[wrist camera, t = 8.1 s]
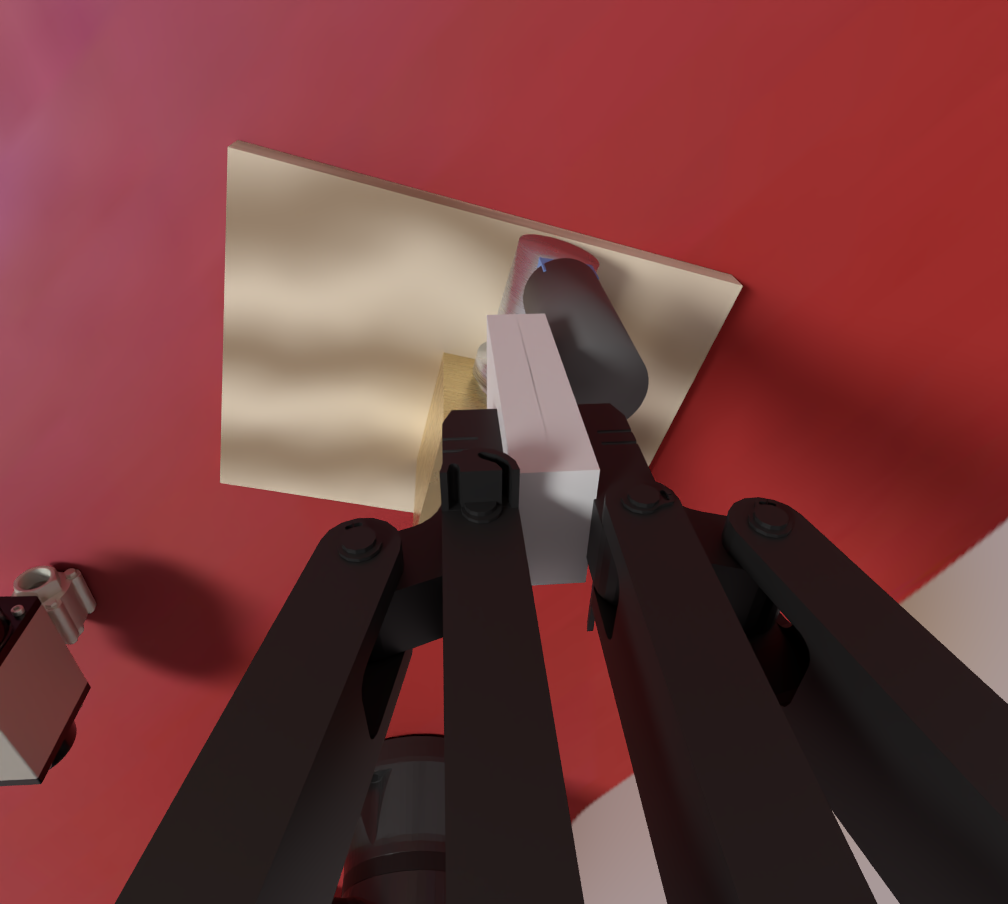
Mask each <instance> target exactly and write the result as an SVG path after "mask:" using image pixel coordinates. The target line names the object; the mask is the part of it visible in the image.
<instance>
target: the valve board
mask: <svg viewBox="0 0 1008 904" xmlns="http://www.w3.org/2000/svg"><path fill="white" fill-rule="evenodd" d="M527 234H536V235H543V236H548V237H552V238H556V239H559V240H562V241H565V242H568V243H570V244H573V245H575V246H577V247H580V248H582V249H583V250H585V251H587V252H589V253H590V254H591V255H593V256H594V257H595V258H596V259H597V260H598V261H599V267H598V270H597V275H598V277H599V281H600V283H601V285H602V287H603V289H604V291H605V292H606V294H607V296H608V298H609V300H610V302H611V303H612V305H613V307H614V309H615V311H616V313H617V314H618V316H619V318H620V320H621V322H622V324H623V325H624V327H625V329H626V331H627V333H628V335H629V336H630V338H631V340H632V342H633V344H634V346H635V347H636V349H637V351H638V353H639V355H640V357H641V359H642V360H643V362H644V364H645V366H646V369H647V372H648V377H649V384H648V390H647V394H646V396H645V399H644V401H643V402H642V404H641V406H640V407H639V408H638V410H637V411H636V412H635V413H634V414H633V415H632V416H631V417H629V418H628V419H627V421H628V423H629V425H630V428H631V432H633V434H634V436H635V439H636V441H637V444H638V445H639V447H640V449H641V452H642V454H643V456H644V458H645V460H646V462H647V465H648V467H649V465H650V463H651V461H652V459H653V457H654V455H655V454H656V452H657V450H658V448H659V446H660V444H661V442H662V440H663V438H664V436H665V434H666V432H667V430H668V429H669V427H670V425H671V423H672V421H673V419H674V417H675V415H676V413H677V411H678V409H679V407H680V406H681V404H682V402H683V400H684V398H685V396H686V394H687V392H688V390H689V388H690V386H691V384H692V383H693V381H694V379H695V377H696V375H697V373H698V371H699V369H700V367H701V365H702V363H703V361H704V360H705V358H706V356H707V354H708V352H709V350H710V348H711V346H712V344H713V342H714V340H715V338H716V337H717V335H718V333H719V331H720V329H721V327H722V325H723V323H724V321H725V319H726V317H727V315H728V313H729V312H730V310H731V308H732V306H733V304H734V302H735V300H736V298H737V296H738V294H739V292H740V290H741V289H742V287H743V285H741V284H740V283H739V282H738V281H737V280H736V279H735V278H734V277H733V276H732V275H730V274H727V273H723V272H719V271H716V270H712V269H708V268H705V267H701V266H697V265H694V264H690V263H686V262H683V261H679V260H675V259H672V258H668V257H664V256H661V255H657V254H653V253H650V252H646V251H642V250H639V249H635V248H631V247H628V246H624V245H620V244H617V243H613V242H609V241H606V240H602V239H598V238H595V237H591V236H587V235H584V234H580V233H576V232H573V231H569V230H565V229H562V228H558V227H554V226H551V225H547V224H543V223H540V222H536V221H532V220H529V219H525V218H521V217H518V216H514V215H510V214H507V213H503V212H500V211H496V210H492V209H489V208H485V207H481V206H478V205H474V204H470V203H467V202H463V201H459V200H456V199H452V198H448V197H445V196H441V195H437V194H434V193H430V192H426V191H423V190H419V189H415V188H412V187H408V186H404V185H401V184H397V183H393V182H390V181H386V180H382V179H379V178H375V177H371V176H368V175H364V174H360V173H357V172H353V171H349V170H346V169H342V168H338V167H335V166H331V165H327V164H324V163H320V162H316V161H313V160H309V159H305V158H302V157H298V156H294V155H291V154H287V153H283V152H280V151H276V150H272V149H269V148H265V147H261V146H258V145H254V144H250V143H247V142H243V141H239V140H237V141H236V142H234V143H233V144H231V145H230V146H229V147H228V162H227V205H226V249H225V292H224V335H223V378H222V421H221V465H220V483H225V484H232V485H238V486H245V487H251V488H258V489H264V490H271V491H277V492H283V493H290V494H296V495H303V496H309V497H316V498H322V499H329V500H335V501H342V502H348V503H355V504H361V505H368V506H374V507H380V508H387V509H393V510H400V511H406V512H413V513H414V498H415V481H416V464H417V457H418V453H419V449H420V445H421V441H422V437H423V433H424V429H425V425H426V421H427V417H428V413H429V409H430V405H431V401H432V397H433V393H434V389H435V385H436V380H437V376H438V372H439V368H440V364H441V360H442V356H443V352H445V353H449V354H454V355H458V356H463V357H468V358H472V359H475V358H476V355H477V351H478V348H479V347H480V345H482V344H483V343H485V342H487V315H497V313H498V310H499V306H500V303H501V300H502V296H503V293H504V289H505V286H506V282H507V279H508V276H509V272H510V269H511V265H512V262H513V259H514V255H515V252H516V248H517V245H518V242H519V238H520V237H521V236H522V235H527Z"/></svg>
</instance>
